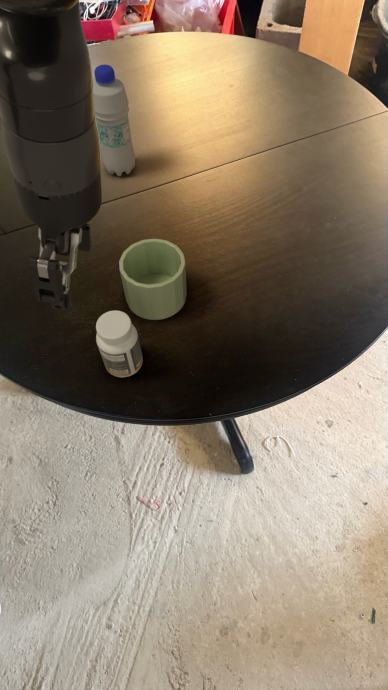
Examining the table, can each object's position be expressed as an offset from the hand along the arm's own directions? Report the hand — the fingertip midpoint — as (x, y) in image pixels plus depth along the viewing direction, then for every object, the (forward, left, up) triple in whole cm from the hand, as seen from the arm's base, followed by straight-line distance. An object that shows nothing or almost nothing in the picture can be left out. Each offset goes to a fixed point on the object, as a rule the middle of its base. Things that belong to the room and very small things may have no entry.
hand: (72, 276), depth 54 cm
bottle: (+5, +46, -20) cm, 50 cm away
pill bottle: (+3, 0, -20) cm, 20 cm away
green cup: (+9, +12, -19) cm, 24 cm away
